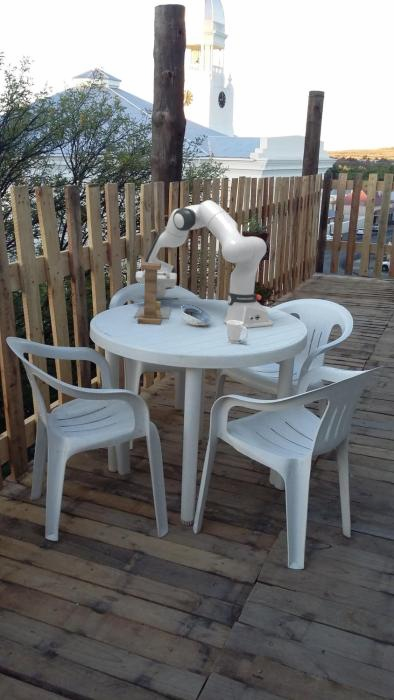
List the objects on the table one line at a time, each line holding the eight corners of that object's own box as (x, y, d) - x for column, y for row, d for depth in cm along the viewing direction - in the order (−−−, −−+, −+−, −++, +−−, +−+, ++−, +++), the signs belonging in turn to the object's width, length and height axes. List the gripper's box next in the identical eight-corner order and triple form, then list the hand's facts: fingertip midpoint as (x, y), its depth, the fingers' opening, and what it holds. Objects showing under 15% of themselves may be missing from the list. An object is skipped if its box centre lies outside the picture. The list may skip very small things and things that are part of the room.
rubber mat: (139, 307, 285) (139, 306, 285) (171, 308, 285) (171, 307, 285) (134, 317, 264) (134, 316, 264) (168, 319, 264) (168, 318, 264)
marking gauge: (149, 307, 284) (149, 295, 282) (161, 307, 284) (162, 295, 282) (147, 314, 268) (147, 302, 266) (160, 315, 268) (160, 302, 266)
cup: (232, 338, 237) (233, 319, 235) (251, 343, 231) (253, 324, 228) (221, 341, 232) (222, 321, 229) (241, 346, 226) (242, 326, 223)
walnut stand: (140, 318, 263) (141, 261, 255) (162, 319, 263) (163, 262, 255) (137, 323, 253) (138, 264, 246) (160, 324, 253) (161, 266, 246)
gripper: (137, 274, 289) (134, 264, 275) (177, 276, 289) (176, 266, 275) (136, 286, 287) (133, 276, 274) (176, 288, 287) (176, 279, 274)
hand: (155, 271), depth 274 cm, fingers open, 8 cm apart
